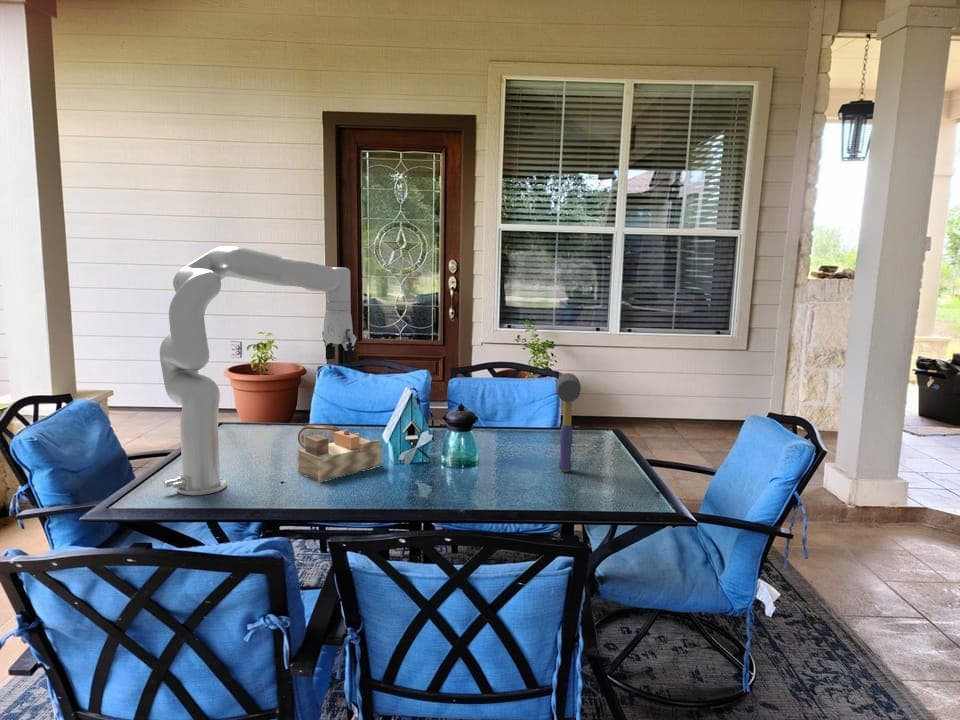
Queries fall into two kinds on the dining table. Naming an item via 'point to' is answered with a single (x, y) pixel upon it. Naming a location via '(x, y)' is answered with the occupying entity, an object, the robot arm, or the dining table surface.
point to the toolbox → (342, 462)
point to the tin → (317, 432)
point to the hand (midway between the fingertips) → (339, 360)
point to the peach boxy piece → (346, 439)
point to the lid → (324, 449)
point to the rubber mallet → (567, 416)
